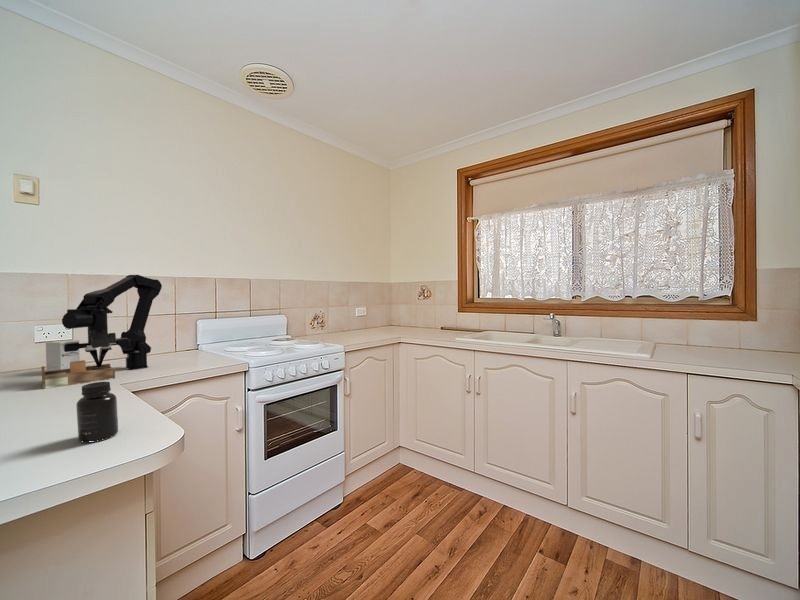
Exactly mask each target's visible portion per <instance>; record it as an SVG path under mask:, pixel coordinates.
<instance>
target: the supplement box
mask: <svg viewBox="0 0 800 600" xmlns="http://www.w3.org/2000/svg"><path fill="white" fill-rule="evenodd" d="M68 342H79V343H80V340H76V339H72V340H69V339H67V340H59V341H58V340H56V341H47V342H45V358H46V359H45V362H46V366H45V367H46V372H47V371H55V370H63V369H70V362H74V361H81V359H80V357H81V356H80V354H81V353H80V349H78V350H77V351H70V352H65V351H64V344H65V343H68Z"/></svg>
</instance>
